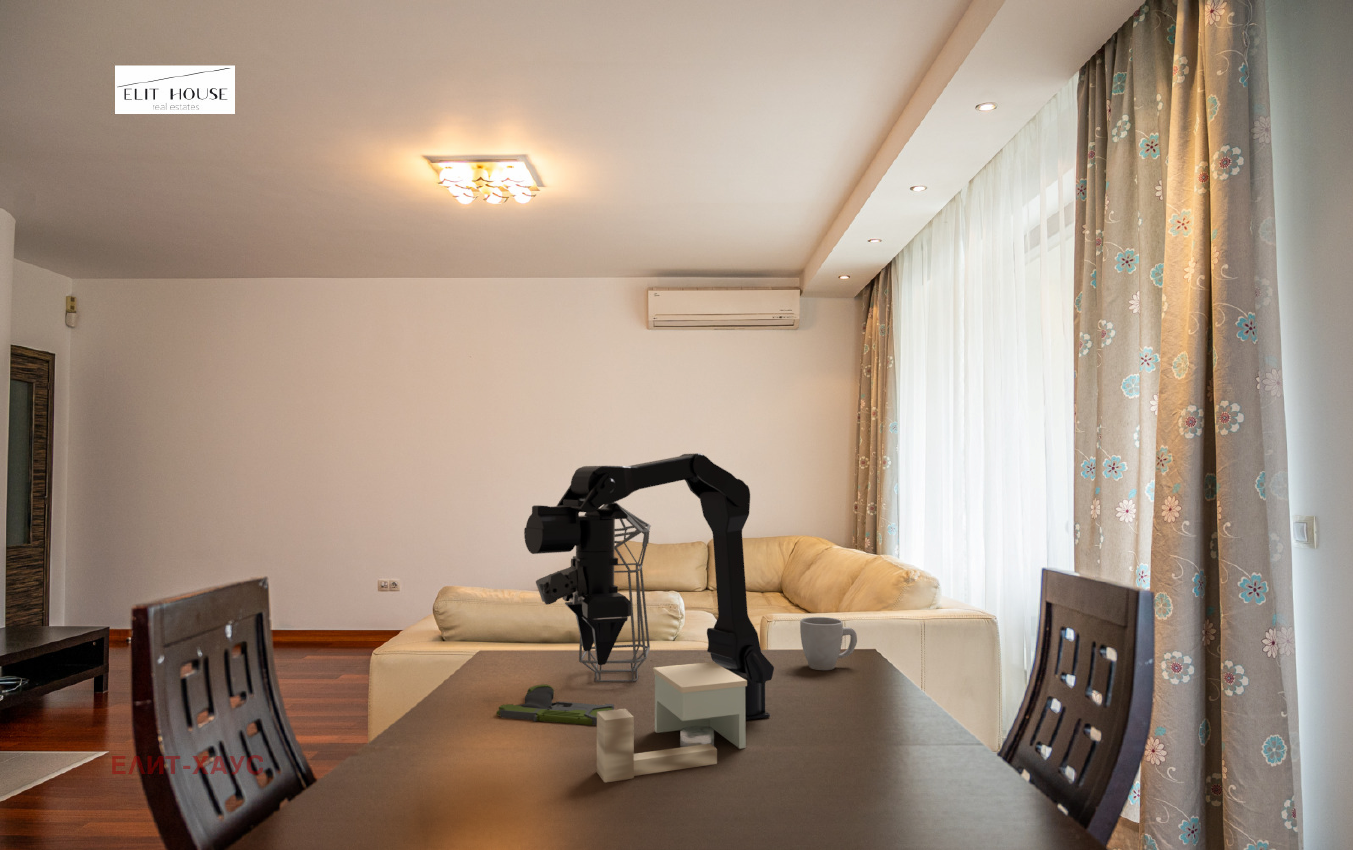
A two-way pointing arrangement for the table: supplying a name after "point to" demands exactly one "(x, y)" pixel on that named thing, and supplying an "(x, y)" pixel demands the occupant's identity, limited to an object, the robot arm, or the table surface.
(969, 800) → the table surface
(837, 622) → the mug
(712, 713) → the pale green stool
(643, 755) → the wooden l-shaped block
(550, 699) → the gun
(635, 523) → the geometric lantern
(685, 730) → the cylinder
